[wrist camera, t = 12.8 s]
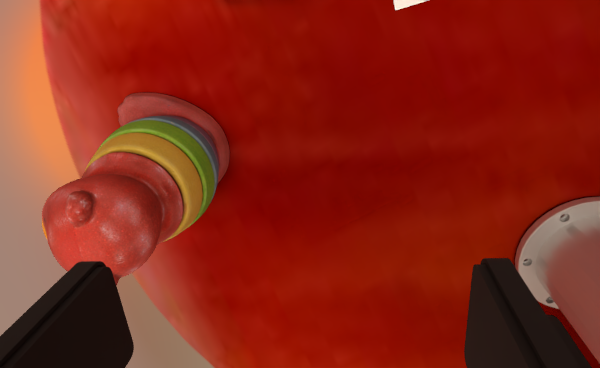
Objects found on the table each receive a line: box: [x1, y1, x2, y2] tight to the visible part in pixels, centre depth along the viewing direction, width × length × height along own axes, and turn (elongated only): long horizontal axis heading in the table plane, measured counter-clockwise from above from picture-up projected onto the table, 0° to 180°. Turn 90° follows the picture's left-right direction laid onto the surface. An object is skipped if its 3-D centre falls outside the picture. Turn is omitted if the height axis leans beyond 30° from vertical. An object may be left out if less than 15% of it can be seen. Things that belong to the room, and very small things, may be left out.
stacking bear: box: [42, 93, 230, 285], centre depth 31 cm, size 11×10×18 cm
